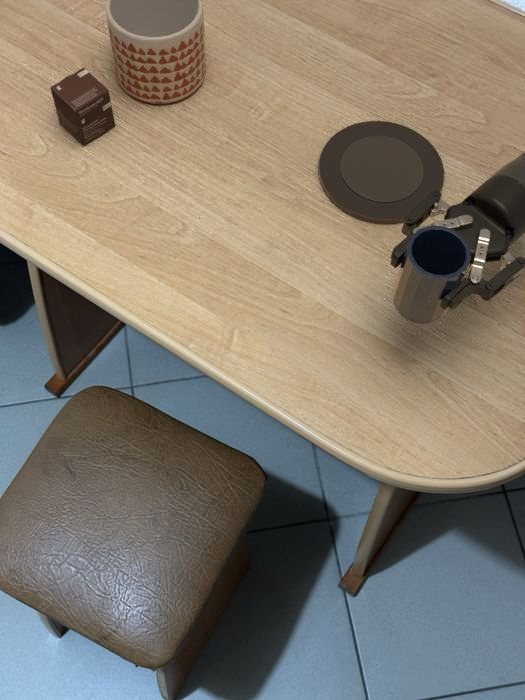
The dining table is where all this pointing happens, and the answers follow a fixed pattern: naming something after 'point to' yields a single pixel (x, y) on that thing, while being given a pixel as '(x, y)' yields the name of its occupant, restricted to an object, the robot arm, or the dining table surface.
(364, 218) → the plate
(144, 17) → the planter
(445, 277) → the cup
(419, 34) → the dining table surface
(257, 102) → the dining table surface
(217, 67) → the dining table surface
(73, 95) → the box
